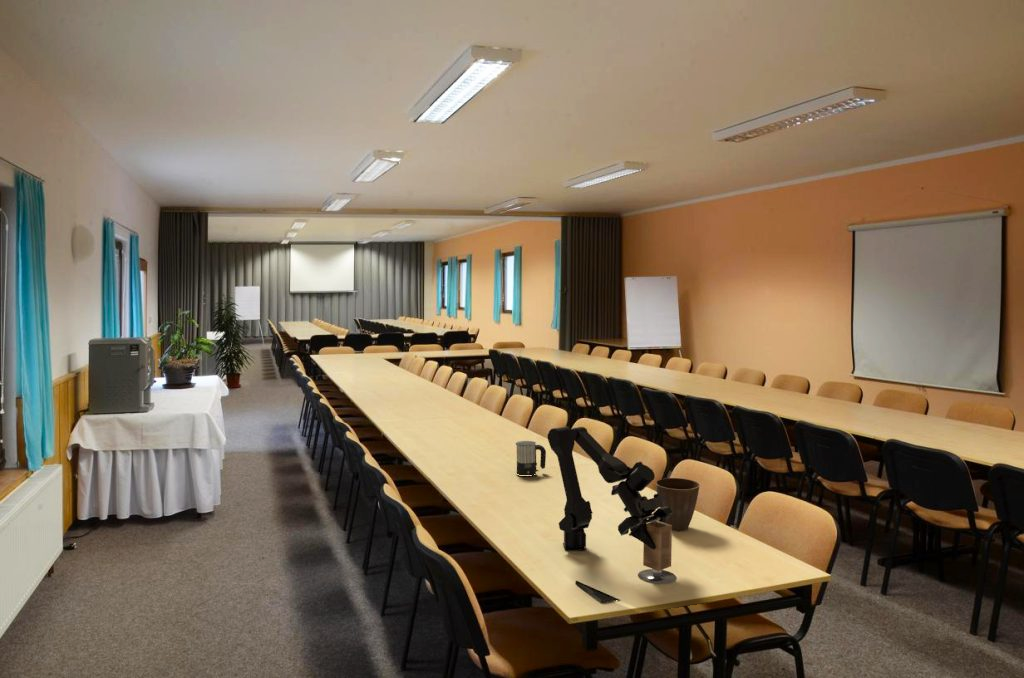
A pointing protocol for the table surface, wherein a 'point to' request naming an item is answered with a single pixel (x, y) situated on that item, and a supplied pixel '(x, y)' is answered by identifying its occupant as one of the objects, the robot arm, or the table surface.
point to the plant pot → (679, 500)
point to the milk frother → (529, 457)
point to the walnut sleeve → (658, 546)
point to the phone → (596, 593)
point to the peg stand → (657, 576)
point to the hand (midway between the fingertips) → (661, 546)
